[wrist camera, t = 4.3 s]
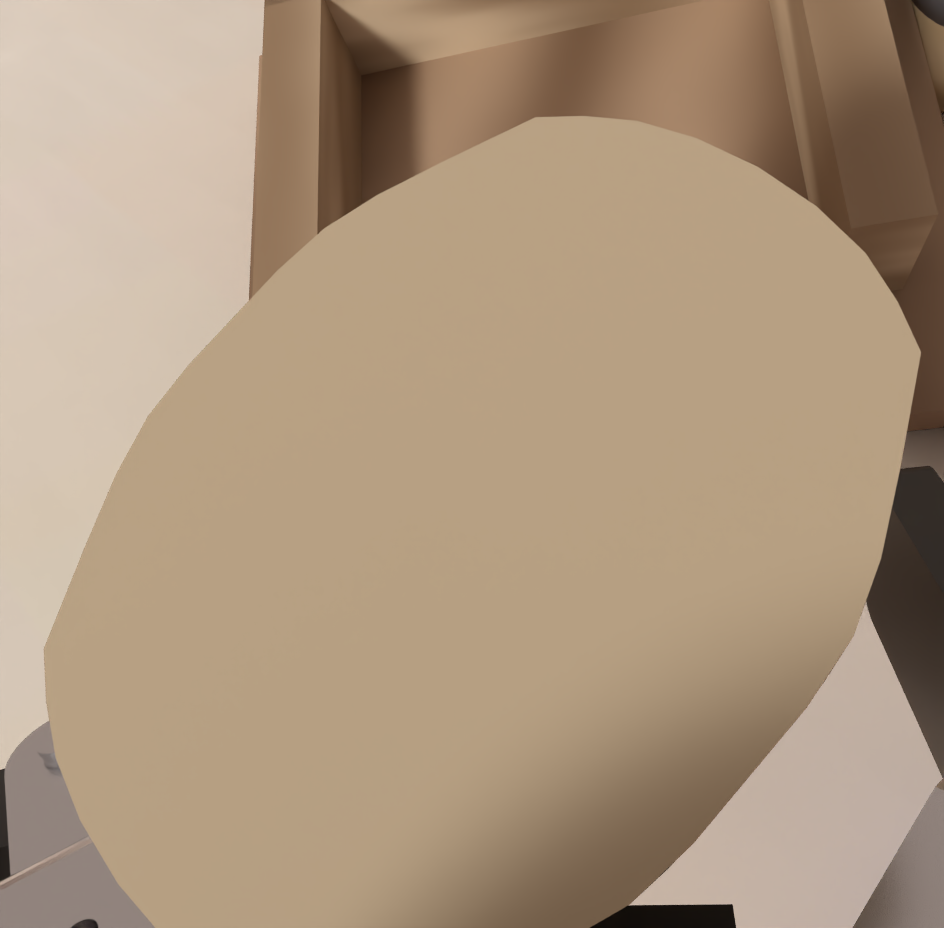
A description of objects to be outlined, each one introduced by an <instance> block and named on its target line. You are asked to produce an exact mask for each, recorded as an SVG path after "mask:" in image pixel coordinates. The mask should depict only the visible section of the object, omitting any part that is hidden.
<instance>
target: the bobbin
mask: <svg viewBox="0 0 944 928" xmlns="http://www.w3.org/2000/svg"><path fill="white" fill-rule="evenodd" d="M911 3H912V6H913V10H914V14H915V18H916V22H917V25H918V29H919V33H920V37H921V40H922V44H923V48H924V52H925V56H926V59H927V63H928V67H929V71H930V74H931V78H932V82H933V86H934V89H935V93H936V97H937V101H938V105H939V108H940V112H944V0H911Z"/></svg>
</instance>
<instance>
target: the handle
mask: <svg viewBox="0 0 944 928" xmlns="http://www.w3.org/2000/svg"><path fill="white" fill-rule="evenodd" d="M920 356H921V351H920V349H919V347H918V344H917V342H916V340H915V338H914V336H913V334H912V332H911V329H910V327H909V325H908V323H907V321H906V319H905V316H904V314H903V312H902V310H901V308H900V306H899V303H898V301H897V300H896V298H895V297H894V295H893V294H892V292H891V291H890V289H889V288H888V286H887V285H886V283H885V282H884V280H883V279H882V277H881V276H880V274H879V273H878V271H877V269H876V268H875V266H874V265H873V263H872V262H871V260H870V259H869V257H868V256H867V254H866V253H865V252H864V251H863V250H862V249H861V248H860V247H859V246H858V245H857V244H856V243H855V242H854V241H853V240H852V239H850V238H849V237H848V236H847V235H846V234H845V233H844V232H843V231H842V230H841V229H840V228H839V227H838V226H837V225H836V224H835V223H834V222H833V221H831V220H830V219H829V218H828V217H827V216H826V215H825V214H824V213H823V212H822V211H821V210H820V209H819V208H818V207H817V206H815V205H814V204H812V203H811V202H809V201H808V200H806V199H805V198H803V197H802V196H800V195H799V194H797V193H796V192H795V191H793V190H792V189H790V188H789V187H787V186H786V185H784V184H783V183H781V182H780V181H778V180H777V179H775V178H774V177H772V176H771V175H769V174H768V173H766V172H765V171H763V170H762V169H760V168H759V167H757V166H755V165H753V164H751V163H748V162H746V161H744V160H742V159H740V158H738V157H736V156H734V155H731V154H729V153H727V152H725V151H723V150H721V149H719V148H717V147H714V146H712V145H710V144H708V143H706V142H704V141H702V140H699V139H697V138H694V137H691V136H687V135H684V134H681V133H677V132H674V131H670V130H667V129H663V128H660V127H657V126H653V125H650V124H646V123H643V122H639V121H634V120H623V119H612V118H601V117H590V116H563V117H535V118H533V119H531V120H529V121H527V122H524V123H522V124H520V125H518V126H516V127H514V128H512V129H510V130H508V131H506V132H504V133H501V134H499V135H497V136H495V137H493V138H491V139H489V140H487V141H485V142H483V143H481V144H479V145H476V146H474V147H472V148H470V149H468V150H466V151H464V152H462V153H460V154H458V155H456V156H453V157H451V158H449V159H447V160H445V161H443V162H441V163H439V164H437V165H435V166H433V167H431V168H429V169H427V170H425V171H423V172H421V173H419V174H417V175H416V176H414V177H412V178H410V179H408V180H406V181H404V182H402V183H400V184H398V185H396V186H394V187H392V188H390V189H388V190H386V191H384V192H382V193H380V194H378V195H376V196H375V197H373V198H372V199H370V200H368V201H367V202H365V203H364V204H362V205H360V206H359V207H357V208H356V209H354V210H353V211H351V212H349V213H348V214H346V215H345V216H343V217H342V218H340V219H338V220H337V221H335V222H334V223H332V224H330V225H329V226H327V227H326V228H324V229H323V230H322V231H321V232H320V233H319V234H317V235H316V236H315V237H314V238H313V239H312V240H311V241H310V242H309V243H307V244H306V245H305V246H304V247H303V248H302V249H301V250H300V251H299V252H297V253H296V254H295V255H294V256H293V257H292V258H291V259H290V260H289V261H287V262H286V263H285V264H284V265H283V266H282V267H281V268H280V269H279V270H277V271H276V272H275V274H274V275H273V276H272V277H271V278H270V279H269V280H268V281H267V282H266V283H265V284H264V285H263V286H262V287H261V288H260V290H259V291H258V292H257V293H256V294H255V295H254V296H253V297H252V298H251V299H250V300H249V301H248V302H247V303H246V304H245V306H244V307H243V308H242V309H241V310H240V311H239V312H238V313H237V314H236V315H235V316H234V317H233V318H232V319H231V320H230V321H229V323H228V324H227V325H226V326H225V327H224V328H223V329H222V330H221V331H220V332H219V333H218V334H217V335H216V336H215V337H214V339H213V340H212V341H211V342H210V343H209V344H208V345H207V346H206V347H205V348H204V349H203V350H202V351H201V352H200V353H199V355H198V356H197V357H196V358H195V359H194V360H193V361H192V362H191V363H190V364H189V365H188V366H187V368H186V369H185V370H184V371H183V373H182V374H181V375H180V376H179V378H178V379H177V380H176V381H175V383H174V384H173V385H172V387H171V388H170V389H169V390H168V392H167V393H166V394H165V395H164V397H163V398H162V399H161V400H160V402H159V403H158V404H157V405H156V407H155V408H154V409H153V410H152V412H151V413H150V414H149V416H148V417H147V419H146V421H145V422H144V424H143V426H142V428H141V430H140V432H139V433H138V435H137V437H136V439H135V441H134V443H133V444H132V446H131V448H130V450H129V452H128V453H127V455H126V457H125V459H124V461H123V463H122V464H121V466H120V468H119V470H118V472H117V474H116V476H115V478H114V480H113V483H112V485H111V487H110V490H109V492H108V494H107V497H106V499H105V501H104V504H103V506H102V508H101V511H100V513H99V515H98V518H97V520H96V522H95V525H94V527H93V529H92V532H91V534H90V536H89V539H88V541H87V543H86V546H85V548H84V550H83V553H82V555H81V558H80V560H79V563H78V565H77V568H76V570H75V573H74V575H73V578H72V580H71V583H70V585H69V588H68V590H67V592H66V595H65V597H64V600H63V602H62V605H61V607H60V610H59V612H58V615H57V617H56V620H55V622H54V625H53V627H52V630H51V632H50V635H49V637H48V640H47V642H46V644H45V647H44V665H45V687H46V703H47V709H48V715H49V721H50V727H51V733H52V739H53V745H54V751H55V757H56V760H57V763H58V765H59V768H60V770H61V773H62V775H63V778H64V780H65V783H66V786H67V788H68V791H69V793H70V796H71V798H72V801H73V803H74V806H75V809H76V811H77V814H78V816H79V819H80V821H81V823H82V824H83V826H84V828H85V829H86V831H87V833H88V834H89V836H90V838H91V839H92V841H93V843H94V844H95V846H96V848H97V850H98V851H99V853H100V855H101V856H102V858H103V860H104V861H105V863H106V865H107V866H108V868H109V870H110V871H111V873H112V875H113V876H114V878H115V880H116V881H117V883H118V885H119V886H120V887H121V888H122V889H123V890H124V892H125V893H126V894H127V895H128V896H129V897H130V899H131V900H132V901H133V902H134V903H135V905H136V906H137V907H138V908H139V909H140V910H141V912H142V913H143V914H144V915H145V916H146V917H147V919H148V920H149V921H150V922H151V923H152V924H153V926H154V927H155V928H590V927H592V926H593V925H595V924H597V923H599V922H600V921H602V920H604V919H605V918H607V917H609V916H611V915H612V914H614V913H616V912H618V911H619V910H621V909H623V908H624V907H626V906H628V905H629V904H631V903H632V902H633V901H634V900H635V899H636V898H637V897H638V896H639V895H640V894H641V893H642V892H643V891H644V890H646V889H647V888H648V887H649V886H650V885H651V884H652V883H653V882H654V881H655V880H656V879H657V878H658V877H660V876H661V875H662V874H663V873H664V872H665V871H666V870H667V869H668V868H669V867H670V866H671V865H672V864H673V863H674V862H675V861H676V860H677V859H678V858H679V857H680V856H681V855H682V854H683V853H684V852H685V851H686V850H687V849H688V848H689V847H690V846H691V845H692V844H693V843H694V842H695V841H696V840H697V838H698V837H699V836H700V835H701V834H702V832H703V831H704V830H705V829H706V828H707V826H708V825H709V824H710V823H711V822H712V820H713V819H714V818H715V817H716V816H717V814H718V813H719V812H720V811H721V810H722V808H723V807H724V806H725V805H726V804H727V802H728V801H729V800H730V799H731V798H732V796H733V795H734V794H735V793H736V792H737V790H738V789H739V788H740V787H741V786H742V784H743V783H744V782H745V781H746V780H747V778H748V777H749V776H750V775H751V774H752V772H753V771H754V770H755V769H756V768H757V766H758V765H759V764H760V763H761V762H762V760H763V759H764V758H765V757H766V756H767V754H768V753H769V752H770V751H771V750H772V748H773V747H774V746H775V745H776V744H777V743H778V741H779V740H780V739H781V738H782V737H783V735H784V734H785V733H786V732H787V731H788V729H789V728H790V727H791V726H792V725H793V723H794V722H795V721H796V720H797V719H798V717H799V716H800V715H801V714H802V713H803V711H804V710H805V709H806V708H807V706H808V705H809V703H810V702H811V700H812V699H813V697H814V696H815V694H816V693H817V691H818V690H819V688H820V687H821V685H822V684H823V683H824V681H825V680H826V678H827V677H828V675H829V673H830V672H831V670H832V669H833V667H834V666H835V664H836V663H837V661H838V659H839V658H840V656H841V655H842V653H843V652H844V650H845V649H846V647H847V645H848V644H849V642H850V641H851V639H852V638H853V636H854V633H855V630H856V628H857V625H858V622H859V619H860V616H861V613H862V611H863V608H864V605H865V602H866V599H867V597H868V594H869V591H870V588H871V585H872V583H873V580H874V577H875V574H876V571H877V569H878V566H879V563H880V560H881V556H882V552H883V547H884V542H885V538H886V533H887V528H888V523H889V519H890V514H891V509H892V505H893V500H894V495H895V491H896V486H897V481H898V477H899V472H900V467H901V462H902V456H903V451H904V445H905V439H906V434H907V428H908V423H909V417H910V412H911V406H912V400H913V395H914V389H915V384H916V378H917V373H918V367H919V361H920Z"/></svg>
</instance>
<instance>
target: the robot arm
mask: <svg viewBox="0 0 944 928" xmlns="http://www.w3.org/2000/svg"><path fill="white" fill-rule="evenodd" d="M866 602H867V606H868V610H869V614H870V617H871V619H872V622H873V624H874V626H875V629H876V631H877V633H878V635H879V638H880V640H881V642H882V644H883V646H884V649H885V651H886V653H887V655H888V657H889V660H890V662H891V664H892V666H893V669H894V671H895V673H896V675H897V677H898V680H899V682H900V684H901V686H902V689H903V691H904V693H905V695H906V697H907V700H908V702H909V704H910V706H911V708H912V711H913V713H914V715H915V717H916V720H917V722H918V724H919V726H920V728H921V731H922V733H923V735H924V737H925V740H926V742H927V744H928V746H929V748H930V751H931V753H932V755H933V757H934V760H935V762H936V764H937V766H938V768H939V771H940V773H941V775H942V777H943V779H942V780H941V781H940V782H939V783H938V785H937V786H936V787H935V789H934V790H933V792H932V794H931V795H930V797H929V799H928V800H927V802H926V804H925V805H924V807H923V809H922V810H921V812H920V814H919V816H918V817H917V819H916V821H915V822H914V824H913V826H912V828H911V829H910V831H909V833H908V834H907V836H906V838H905V839H904V841H903V843H902V845H901V846H900V848H899V850H898V851H897V853H896V855H895V857H894V858H893V860H892V862H891V863H890V865H889V867H888V868H887V870H886V872H885V874H884V875H883V877H882V879H881V880H880V882H879V884H878V886H877V887H876V889H875V891H874V892H873V894H872V896H871V897H870V899H869V901H868V903H867V904H866V906H865V908H864V909H863V911H862V913H861V915H860V916H859V918H858V920H857V921H856V923H855V925H854V926H853V928H944V482H943V481H942V480H941V478H940V477H939V476H938V474H937V473H936V472H935V470H934V469H933V468H932V467H930V466H924V467H914V468H905V469H900V472H899V477H898V481H897V486H896V491H895V495H894V500H893V505H892V509H891V514H890V519H889V523H888V528H887V533H886V538H885V542H884V547H883V552H882V556H881V560H880V563H879V566H878V569H877V571H876V574H875V577H874V580H873V583H872V585H871V588H870V591H869V594H868V597H867V599H866ZM0 928H155V927H154V926H153V924H152V923H151V922H150V921H149V920H148V919H147V917H146V916H145V915H144V914H143V913H142V912H141V910H140V909H139V908H138V907H137V906H136V905H135V903H134V902H133V901H132V900H131V899H130V897H129V896H128V895H127V894H126V893H125V892H124V890H123V889H122V888H121V887H120V886H119V885H118V883H117V881H116V880H115V878H114V876H113V875H112V873H111V871H110V870H109V868H108V866H107V865H106V863H105V861H104V860H103V858H102V856H101V855H100V853H99V851H98V850H97V848H96V846H95V844H94V843H93V841H92V839H91V838H90V836H89V834H88V833H87V831H86V829H85V828H84V826H83V824H82V823H81V821H80V819H79V816H78V814H77V811H76V809H75V806H74V803H73V801H72V798H71V796H70V793H69V791H68V788H67V786H66V783H65V780H64V778H63V775H62V773H61V770H60V768H59V765H58V763H57V760H56V757H55V751H54V745H53V739H52V733H51V727H50V721H48V722H46V723H45V724H43V725H42V726H40V727H39V728H38V729H36V730H35V731H33V732H32V733H31V734H30V735H29V736H28V737H26V738H25V739H24V740H23V741H22V742H21V743H20V744H19V746H18V747H17V748H16V749H15V751H14V752H13V753H12V755H11V756H10V758H9V760H8V762H7V765H6V768H5V769H2V770H0ZM590 928H736V925H735V918H734V911H733V905H732V904H730V905H630V906H626V907H624V908H623V909H621V910H619V911H618V912H616V913H614V914H612V915H611V916H609V917H607V918H605V919H604V920H602V921H600V922H599V923H597V924H595V925H593V926H592V927H590Z"/></svg>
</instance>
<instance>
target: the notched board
mask: <svg viewBox="0 0 944 928" xmlns="http://www.w3.org/2000/svg"><path fill="white" fill-rule="evenodd" d="M563 116H590V117H601V118H612V119H623V120H634V121H639V122H643V123H646V124H650V125H653V126H657V127H660V128H663V129H667V130H670V131H674V132H677V133H681V134H684V135H687V136H691V137H694V138H697V139H699V140H702V141H704V142H706V143H708V144H710V145H712V146H714V147H717V148H719V149H721V150H723V151H725V152H727V153H729V154H731V155H734V156H736V157H738V158H740V159H742V160H744V161H746V162H748V163H751V164H753V165H755V166H757V167H759V168H760V169H762V170H763V171H765V172H766V173H768V174H769V175H771V176H772V177H774V178H775V179H777V180H778V181H780V182H781V183H783V184H784V185H786V186H787V187H789V188H790V189H792V190H793V191H795V192H796V193H797V194H799V195H800V196H802V197H803V198H805V199H806V200H808V201H809V202H811V203H812V204H814V205H815V206H817V207H818V208H819V209H820V210H821V211H822V212H823V213H824V214H825V215H826V216H827V217H828V218H829V219H830V220H831V221H833V222H834V223H835V224H836V225H837V226H838V227H839V228H840V229H841V230H842V231H843V232H844V233H845V234H846V235H847V236H848V237H849V238H850V239H852V240H853V241H854V242H855V243H856V244H857V245H858V246H859V247H860V248H861V249H862V250H863V251H864V252H865V253H866V254H867V256H868V257H869V259H870V260H871V262H872V263H873V265H874V266H875V268H876V269H877V271H878V273H879V274H880V276H881V277H882V279H883V280H884V282H885V283H886V285H887V286H888V288H889V289H890V291H891V292H892V294H893V295H894V297H895V298H896V300H897V301H898V303H899V306H900V308H901V310H902V312H903V314H904V316H905V319H906V321H907V323H908V325H909V327H910V329H911V332H912V334H913V336H914V338H915V340H916V342H917V344H918V347H919V349H920V351H921V356H920V361H919V367H918V373H917V378H916V384H915V389H914V395H913V400H912V406H911V412H910V417H909V423H908V428H907V431H914V430H923V429H932V428H941V427H944V123H943V120H942V116H941V112H940V108H939V105H938V101H937V97H936V93H935V89H934V86H933V82H932V78H931V74H930V71H929V67H928V63H927V59H926V56H925V52H924V48H923V44H922V40H921V37H920V33H919V29H918V25H917V22H916V18H915V14H914V10H913V6H912V3H911V0H265V6H264V30H263V53H262V55H261V56H259V80H258V103H257V126H256V149H255V172H254V195H253V218H252V241H251V264H250V287H249V300H250V299H251V298H252V297H253V296H254V295H255V294H256V293H257V292H258V291H259V290H260V288H261V287H262V286H263V285H264V284H265V283H266V282H267V281H268V280H269V279H270V278H271V277H272V276H273V275H274V274H275V272H276V271H277V270H279V269H280V268H281V267H282V266H283V265H284V264H285V263H286V262H287V261H289V260H290V259H291V258H292V257H293V256H294V255H295V254H296V253H297V252H299V251H300V250H301V249H302V248H303V247H304V246H305V245H306V244H307V243H309V242H310V241H311V240H312V239H313V238H314V237H315V236H316V235H317V234H319V233H320V232H321V231H322V230H323V229H324V228H326V227H327V226H329V225H330V224H332V223H334V222H335V221H337V220H338V219H340V218H342V217H343V216H345V215H346V214H348V213H349V212H351V211H353V210H354V209H356V208H357V207H359V206H360V205H362V204H364V203H365V202H367V201H368V200H370V199H372V198H373V197H375V196H376V195H378V194H380V193H382V192H384V191H386V190H388V189H390V188H392V187H394V186H396V185H398V184H400V183H402V182H404V181H406V180H408V179H410V178H412V177H414V176H416V175H417V174H419V173H421V172H423V171H425V170H427V169H429V168H431V167H433V166H435V165H437V164H439V163H441V162H443V161H445V160H447V159H449V158H451V157H453V156H456V155H458V154H460V153H462V152H464V151H466V150H468V149H470V148H472V147H474V146H476V145H479V144H481V143H483V142H485V141H487V140H489V139H491V138H493V137H495V136H497V135H499V134H501V133H504V132H506V131H508V130H510V129H512V128H514V127H516V126H518V125H520V124H522V123H524V122H527V121H529V120H531V119H533V118H535V117H563Z"/></svg>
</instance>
